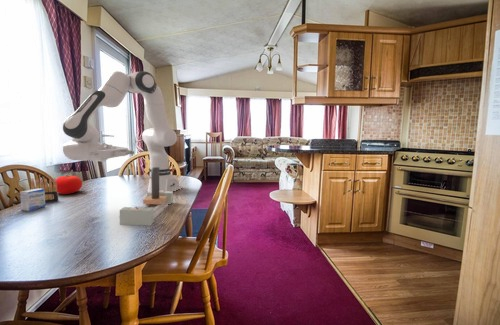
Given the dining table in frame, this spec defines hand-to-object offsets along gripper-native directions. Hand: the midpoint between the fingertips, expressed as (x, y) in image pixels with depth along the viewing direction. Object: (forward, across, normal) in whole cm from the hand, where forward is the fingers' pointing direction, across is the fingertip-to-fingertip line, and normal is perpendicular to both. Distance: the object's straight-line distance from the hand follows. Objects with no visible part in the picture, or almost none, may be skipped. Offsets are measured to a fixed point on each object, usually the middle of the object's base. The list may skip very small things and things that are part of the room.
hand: (129, 153), depth 126 cm
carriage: (+12, 0, +24) cm, 26 cm away
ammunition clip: (-44, +5, +27) cm, 52 cm away
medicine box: (-41, -6, +27) cm, 50 cm away
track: (+12, -7, +26) cm, 30 cm away
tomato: (-45, +24, +27) cm, 57 cm away
